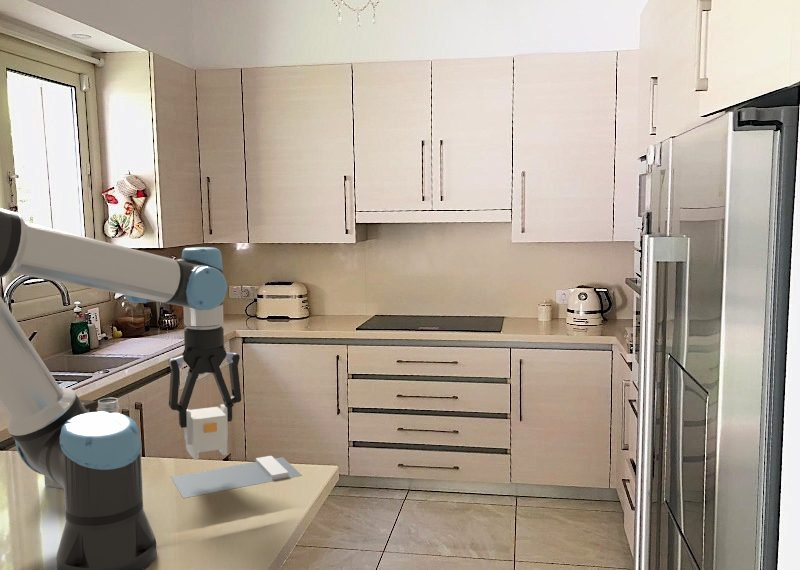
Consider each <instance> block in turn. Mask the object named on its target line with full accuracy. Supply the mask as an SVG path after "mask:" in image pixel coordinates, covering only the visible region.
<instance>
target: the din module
mask: <svg viewBox="0 0 800 570" xmlns="http://www.w3.org/2000/svg"><path fill="white" fill-rule="evenodd" d="M189 411H190V412H191V444H190V445H187V443H186V442H185V449H186V451H187V452H188V454H189V455H190V456H191V458H192V459H193V460H195V461H196V460H199V458H200V453H205V452H212V451H219V453H220V454H221V455H222V456H228V439H227V415H226V414H225V413H224V412H222V411H221V410H220V407H219V406H212V407H204V408H203V407H202V408H195V409H189Z"/></svg>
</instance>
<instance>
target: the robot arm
mask: <svg viewBox="0 0 800 570" xmlns="http://www.w3.org/2000/svg"><path fill="white" fill-rule="evenodd" d="M10 274H16V275H17V274H18V275H22V276H28V277H32V278H36V279H37V278H38V279H43V280H48V281H52V282H58V283H64V284H69V285H75V286H78V287H84V288H90V289H94V290H99V291H104V292H109V293H114V294H119V295H123V297H124V298H125V299H126V300H127V301H128V302H129V303H133V304H139V303H140V304H141V303H143V304H147V303H150V302H151V303H152V302H154V303H155V302H158V303H163V304H168V305H174V306H179V307H183V325H184V326H186V327H185V328H184V329H183V332H184V333H183V337H184V340H183V341H184V346H183V347H184V350H183V352H182V355H180V356H178V357H170V358H168V360H167V361H168V365H169V368H170V379H169V391H168V392H169V393H168V394H169V395H168V406H169V408H170V409H171V410H172V411H177V412H178V424H179V426H180V428H181V429H183V428H184V429H183V431H184V432H183V433H184V435H183V436H184V442H185V444H186V443H187V445H190V444H191V412H190V411H189V410H190V409H189V408H188V407H189V403H190V401H191V398H192V395H193V392H194V388H195V386H196V385H195V384H196V382H197V380H198V379H199V375H203V374H206V373H208V374H212V375H213V377H214V379H215V383H216V386H217V388H218V391H219V394H220V396H221V398H222V401H223V403H222V404H219V409H220V410H221V411H222V412H224V413H225V414H226V415H227V440H229V437H228V436H229V435H228V432H229V429H228V428H229V427H228V426H229V425H228V422H232V420H233V407H234V405H235V404H237V403H240V402H241V401H242V392H241V391H242V390H241V384H240V375H239V362H240V359H241V358H240V355H239V354H238V353H236V352H235V351H234V352H227V351H226V348H225V339H224V337H225V336H224V333H225V332H224V331H225V330H224V327H223V326H222V325H223V324H224V300H225V297H226V296H227V290H228V283H227V280H226V278H225V275H224V268H223V256H222V252H221V250H220V249H218V248H217V247H213V246H212V247H211V246H210V247H209V246H208V247H206V246H205V247H204V246H197V247H196V246H195V247H185V248H183V250H182V252H181V258H178V259H174V258H171V257H167V256H163V255H158V254H155V253H151V252H147V251H143V250H138V249H134V248H131V247H128V246H127V247H126V246H122V245H119V244H115V243H111V242H106V241H103V240H99V239H95V238H92V237H91V238H90V237H87V236H82V235H79V234H75V233H71V232H66V231H63V230H59V229H55V228H51V227H46V226H42V225H39V224H35V223H30V222H27V221H25V220H24V219H23V217H22V216H21V214H20V213H19V212H16V211H12V210H8V209H4V208H1V207H0V278H4V277H6V276H8V275H10ZM25 333H26V332H24V330H23V329H22V327H21V325H20V324H19V323H18V321H17V319H16V318H15V317H14V315H13V313H12V312H11V310H10V309H9V307H8V306H7V305H6V303H5V302H4V300H3V298H2V297H1V296H0V404H1V405H2V407H4V409H5V410H6V412H7V413H8V415H9V416H10V418H9V421H8V424H7V427H6V428H7V431H8V433H9V434H10V435H11V437H12V439H13V440H14V441H15V448H16V451H17V453H18V455H19V457H20V459H21V460H22V461H23V463H24V464H25V465H26V466H27V467H28V468H29V469H31V470H32V471H33V472H35V473H38V474H39V475H42V476H43V477H44V476H46V477H48V478H49V479H51V480H53V481H54V482H56V483H58V484H59V485H61V486H62V487H63V488H64V489H63V493H64V494H63V496H64V509H65V510H64V511H65V524H64V528H63V531H62V534H61V539H60V542H59V544H58V548H57V552H56V557H55V558H56V559H55V561H56V570H144V569H146V568H147V567H149V566H150V565H151V564H152V563H153V562H154V561H155V559H156V557H157V552H158V550H157V539H156V536H155V534H154V531H153V529H152V527H151V525H150V522H149V519H148V516H147V515H146V512H145V509H144V499H143V497H144V495H143V473H142V471H143V469H142V439H141V436H140V429H139V427H138V424H137V422H136V421H135V420H134V419H133V418H131V417H129V416H128V415H125V414H123V413H120V412H119V413H109V412H99V411H97V412H90V413H88V412H87V410H86V409H85V407H84V406H83V404H82V403H81V401H80V400H81V399H80V398H79V397H78V395H77V394H76V392H75V391H74V389H72V388H68V387H61V386H60V385H59V384H58V383H57V381H56V379H55V378H54V376H53V375H52V373H51V372H50V370H49V369H48V367H47V366H46V363H45V362H44V361H43V360H42V358H41V357H40V354H39V353H38V352H37V350H36V348H35V347H34V345H33V344H32V342H31V341H30V340H29V337H28V336H27V335H26V334H25ZM225 359H226V362H227V363H228V370H229V372H228V373H229V378H230V379H229V380H230V388H231V394H230V392H229V390H228V387H227V384H226V382H225V379H224V376H223V373H222V369H221V367H220V366H221V365H222V363H223V362H224V361H225ZM183 363H185V364H186V365H187V366H188V371H187V376H186V380H185V382H184V386H183V390H182V393H181V396H180V398H179V387H180V375H181V373H180V369H182V367H183ZM178 401H179V402H178Z"/></svg>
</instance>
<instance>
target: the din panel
mask: <svg viewBox="0 0 800 570" xmlns="http://www.w3.org/2000/svg"><path fill="white" fill-rule="evenodd" d="M302 476H303V474H302V473H300V472H299V471H298V470H297V469H296V468H295V467H294V466H293V465H292V464H291V463H290V462H289V461H288V460H287V459H286V458H285V457H284V456H282V457H274V456H272V455H266V456H261V457H255V461H254V462H248V463H243V464H236V465H231V466H224V467H220V468H214V469H213V468H212V469H209V470H204V471H203V470H202V471H198V472H197V471H196V472H191V473H186V474H181V475H174V476H171V477H170V478H171V480H172V482H173V484H174V486H175V487H176V489H177V490H178V492H179V493H180V495H181V497H182V498H183V499H188V498H192V497H198V496H202V495H208V494H213V493H218V492H222V491H223V492H224V491H229V490H234V489H239V488H245V487H249V486H250V487H251V486H254V485H255V486H256V485H259V484H265V483H270V482H276V481H281V480H285V479H291V478H297V477H302Z"/></svg>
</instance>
